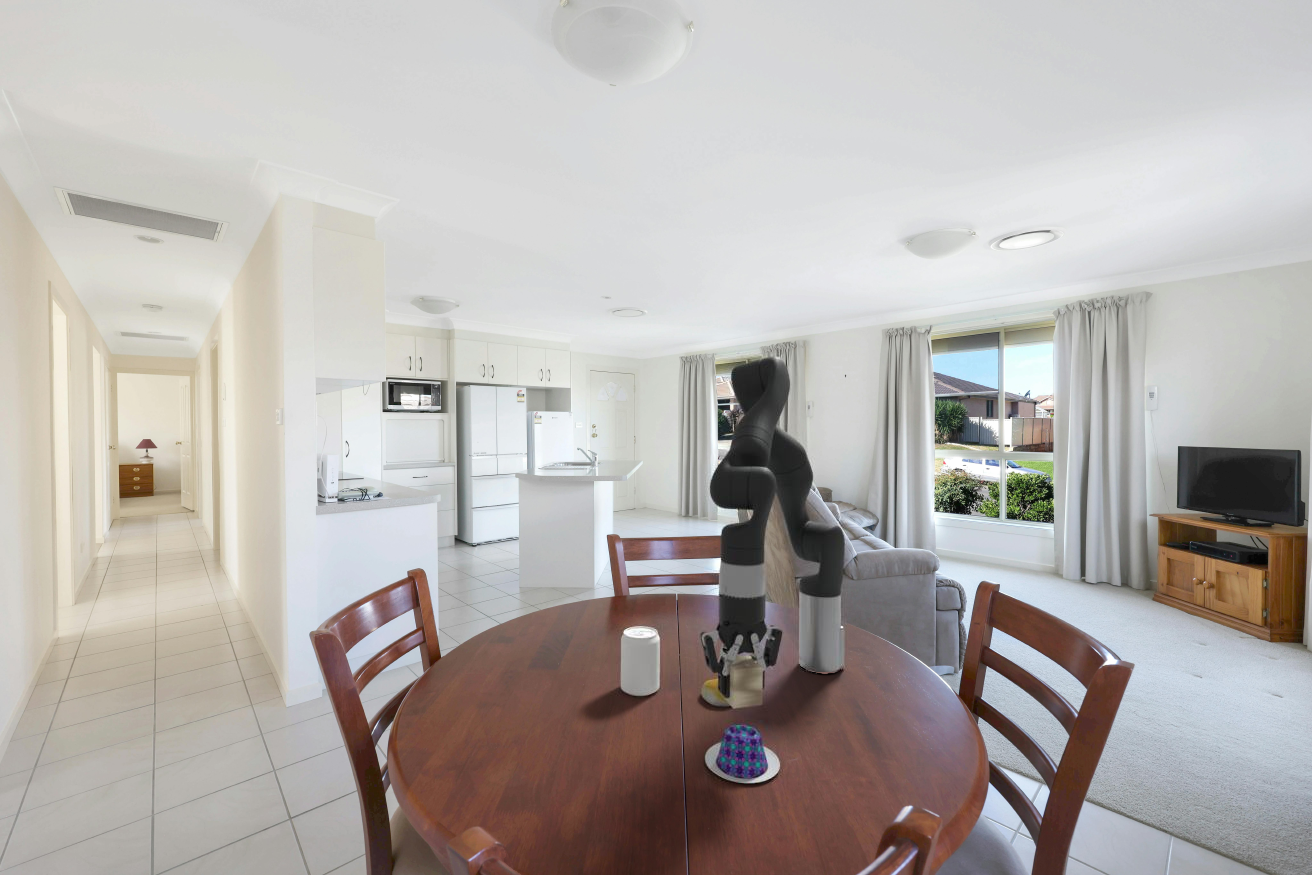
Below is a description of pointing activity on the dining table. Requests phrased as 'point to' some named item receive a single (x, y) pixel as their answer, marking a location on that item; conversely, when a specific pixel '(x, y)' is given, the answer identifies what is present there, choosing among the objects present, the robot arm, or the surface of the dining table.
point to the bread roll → (713, 693)
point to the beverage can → (640, 661)
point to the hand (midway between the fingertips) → (741, 693)
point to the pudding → (742, 756)
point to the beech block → (745, 683)
